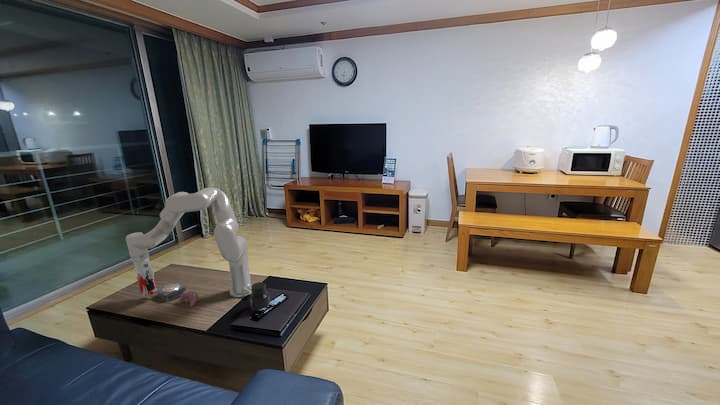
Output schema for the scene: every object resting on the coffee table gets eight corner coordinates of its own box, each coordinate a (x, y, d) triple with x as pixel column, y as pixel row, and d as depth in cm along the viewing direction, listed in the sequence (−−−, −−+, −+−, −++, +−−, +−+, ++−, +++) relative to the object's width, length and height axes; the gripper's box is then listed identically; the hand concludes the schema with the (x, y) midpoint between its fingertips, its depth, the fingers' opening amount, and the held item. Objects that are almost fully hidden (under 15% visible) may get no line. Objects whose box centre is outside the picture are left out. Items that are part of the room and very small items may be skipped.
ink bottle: (263, 299, 156) (260, 279, 153) (274, 305, 151) (272, 283, 148) (247, 309, 148) (244, 287, 145) (258, 315, 144) (255, 292, 140)
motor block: (187, 293, 163) (186, 286, 162) (167, 302, 155) (166, 295, 154) (174, 286, 171) (173, 279, 170) (154, 294, 164) (153, 287, 162)
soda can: (149, 297, 154) (143, 276, 151) (137, 296, 155) (132, 275, 152) (160, 290, 161) (155, 269, 158) (149, 289, 162) (144, 269, 159)
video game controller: (198, 306, 154) (201, 292, 156) (190, 307, 150) (194, 292, 152) (183, 303, 158) (186, 289, 159) (176, 303, 153) (179, 289, 155)
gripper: (155, 257, 151) (163, 289, 155) (141, 250, 160) (149, 280, 165) (138, 263, 145) (147, 296, 149) (124, 256, 154) (133, 286, 159)
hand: (148, 287), depth 157 cm, fingers closed on soda can, 7 cm apart
